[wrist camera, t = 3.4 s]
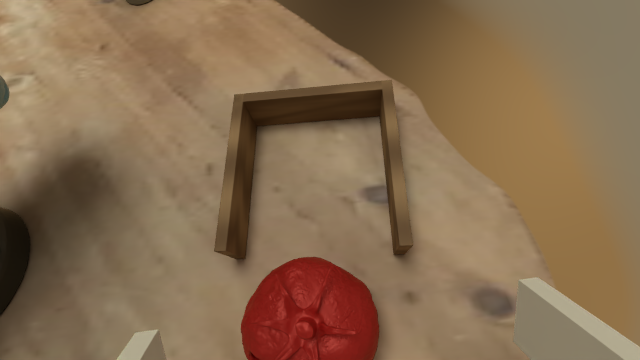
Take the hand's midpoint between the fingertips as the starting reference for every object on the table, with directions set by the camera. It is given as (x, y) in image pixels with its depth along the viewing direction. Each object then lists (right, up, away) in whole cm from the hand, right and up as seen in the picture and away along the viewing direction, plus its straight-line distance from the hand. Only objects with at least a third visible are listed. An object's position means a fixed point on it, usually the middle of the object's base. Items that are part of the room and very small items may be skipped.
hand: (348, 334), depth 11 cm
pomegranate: (-1, -7, +15) cm, 16 cm away
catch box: (-1, +5, +20) cm, 21 cm away
